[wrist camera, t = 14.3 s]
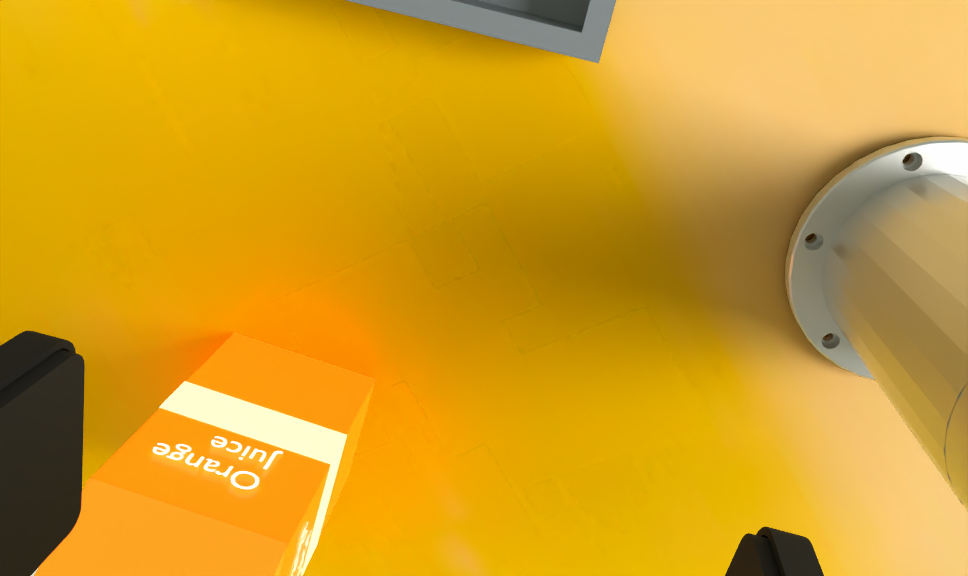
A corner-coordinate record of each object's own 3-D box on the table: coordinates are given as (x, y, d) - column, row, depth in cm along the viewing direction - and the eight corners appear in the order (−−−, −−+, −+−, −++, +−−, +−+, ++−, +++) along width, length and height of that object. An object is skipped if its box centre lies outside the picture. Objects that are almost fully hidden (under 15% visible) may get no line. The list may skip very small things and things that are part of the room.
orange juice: (348, 480, 48) (199, 793, 30) (213, 436, 48) (-19, 720, 30) (377, 376, 45) (232, 653, 27) (233, 328, 45) (-11, 572, 27)
